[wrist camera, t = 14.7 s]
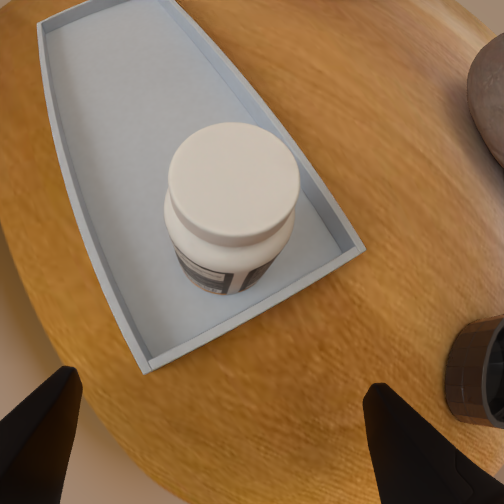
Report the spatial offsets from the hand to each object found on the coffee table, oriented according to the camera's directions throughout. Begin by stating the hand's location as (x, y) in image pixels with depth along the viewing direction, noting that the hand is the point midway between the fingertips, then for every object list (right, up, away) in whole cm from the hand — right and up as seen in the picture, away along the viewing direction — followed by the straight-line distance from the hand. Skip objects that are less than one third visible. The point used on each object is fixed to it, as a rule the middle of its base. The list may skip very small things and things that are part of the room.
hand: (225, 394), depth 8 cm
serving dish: (-8, +17, +15) cm, 24 cm away
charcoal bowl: (+20, -6, +12) cm, 24 cm away
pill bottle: (-1, +4, +12) cm, 13 cm away
